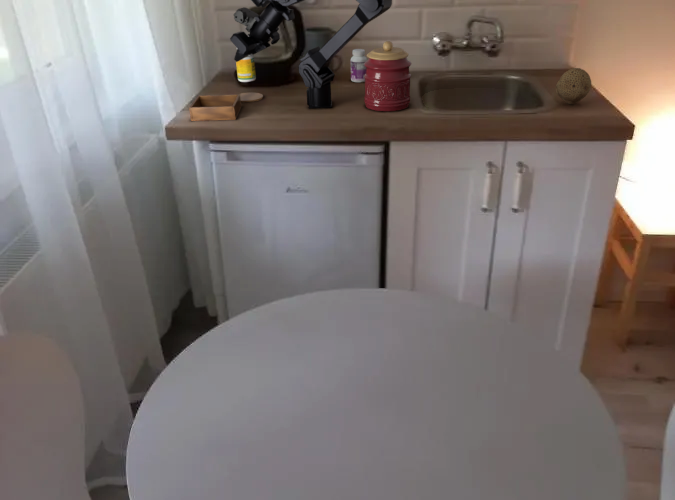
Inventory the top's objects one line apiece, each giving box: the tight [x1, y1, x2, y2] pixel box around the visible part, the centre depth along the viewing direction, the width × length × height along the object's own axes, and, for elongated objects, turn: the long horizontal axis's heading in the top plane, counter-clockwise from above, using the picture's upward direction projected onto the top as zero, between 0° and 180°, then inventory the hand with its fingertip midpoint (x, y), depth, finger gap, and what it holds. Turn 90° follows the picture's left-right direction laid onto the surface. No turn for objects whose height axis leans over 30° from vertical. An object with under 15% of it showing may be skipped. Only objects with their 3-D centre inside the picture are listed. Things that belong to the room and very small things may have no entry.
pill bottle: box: [350, 48, 368, 83], centre depth 201 cm, size 5×5×10 cm
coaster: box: [236, 92, 264, 103], centre depth 188 cm, size 9×9×1 cm
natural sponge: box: [555, 67, 592, 105], centre depth 171 cm, size 9×9×10 cm
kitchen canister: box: [363, 40, 412, 112], centre depth 173 cm, size 13×13×18 cm
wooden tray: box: [188, 93, 242, 122], centre depth 175 cm, size 12×12×4 cm
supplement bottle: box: [235, 54, 257, 83], centre depth 183 cm, size 5×5×10 cm
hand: (240, 58), depth 183 cm, fingers closed on supplement bottle, 5 cm apart
